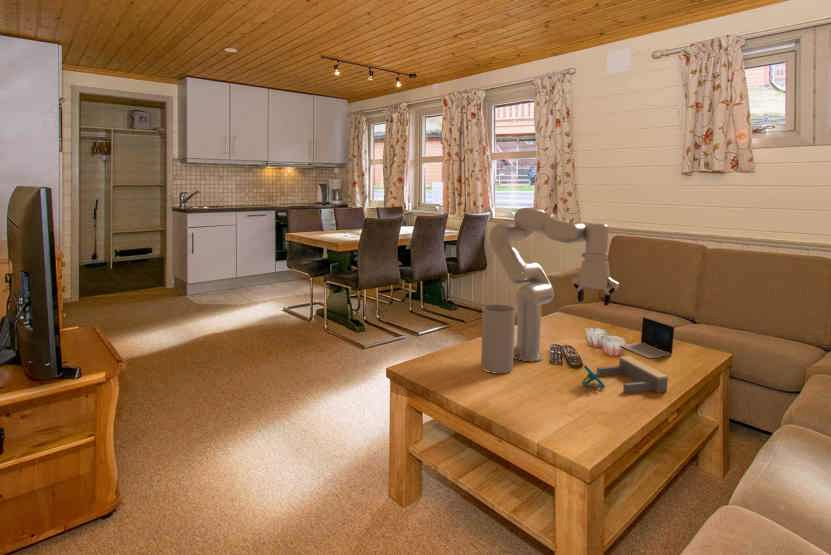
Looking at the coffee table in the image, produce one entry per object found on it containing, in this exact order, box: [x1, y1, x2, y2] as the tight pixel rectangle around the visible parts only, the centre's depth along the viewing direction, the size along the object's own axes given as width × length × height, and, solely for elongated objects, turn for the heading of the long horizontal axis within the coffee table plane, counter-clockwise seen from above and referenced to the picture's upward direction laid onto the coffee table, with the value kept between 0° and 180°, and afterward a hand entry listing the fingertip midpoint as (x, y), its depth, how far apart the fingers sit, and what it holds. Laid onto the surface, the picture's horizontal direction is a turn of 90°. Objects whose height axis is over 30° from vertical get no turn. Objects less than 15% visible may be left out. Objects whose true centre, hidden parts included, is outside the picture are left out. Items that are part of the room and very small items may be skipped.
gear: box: [582, 364, 606, 389], centre depth 186 cm, size 11×6×10 cm
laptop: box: [625, 316, 675, 359], centre depth 224 cm, size 18×12×13 cm
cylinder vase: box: [480, 303, 516, 374], centre depth 201 cm, size 12×12×25 cm
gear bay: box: [596, 355, 669, 394], centre depth 189 cm, size 15×22×6 cm
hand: (593, 303), depth 189 cm, fingers open, 9 cm apart
